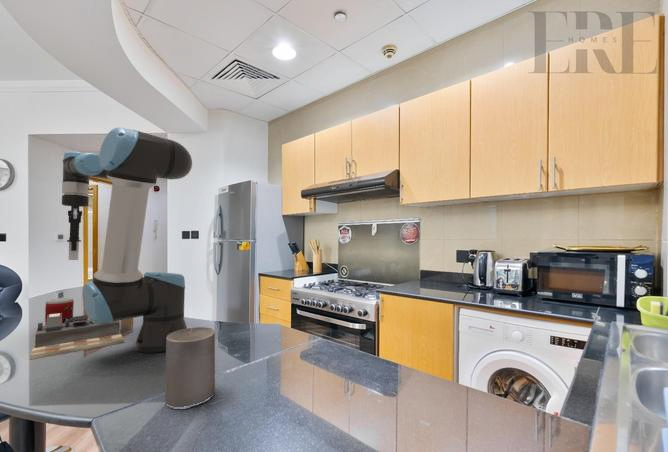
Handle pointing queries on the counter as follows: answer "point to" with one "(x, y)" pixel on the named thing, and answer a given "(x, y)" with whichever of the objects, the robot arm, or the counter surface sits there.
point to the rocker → (53, 322)
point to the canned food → (60, 308)
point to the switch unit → (75, 337)
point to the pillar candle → (190, 366)
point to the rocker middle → (80, 318)
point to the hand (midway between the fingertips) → (73, 259)
